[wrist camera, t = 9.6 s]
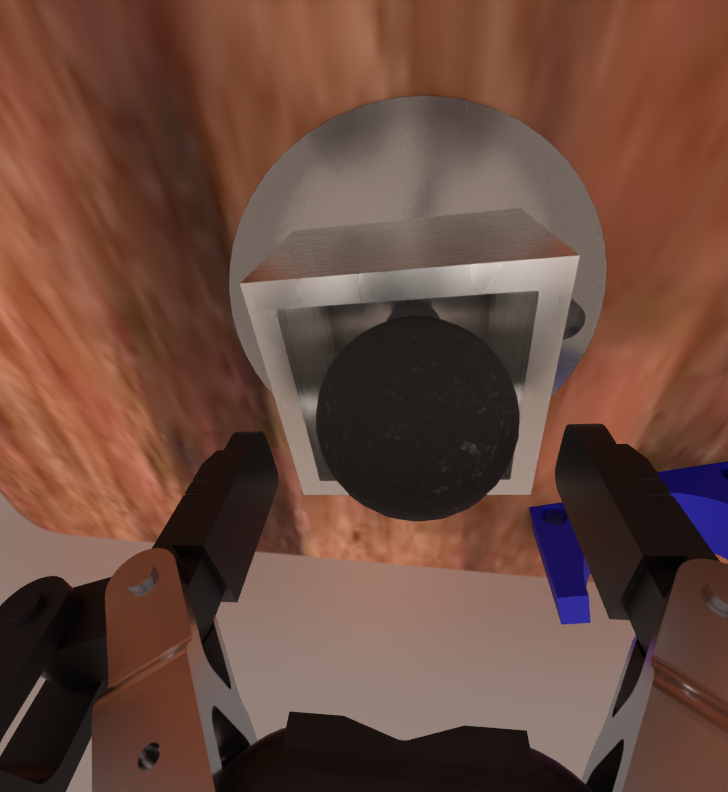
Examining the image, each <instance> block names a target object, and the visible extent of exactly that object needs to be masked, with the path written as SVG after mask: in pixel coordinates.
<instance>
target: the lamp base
mask: <svg viewBox="0 0 728 792" xmlns="http://www.w3.org/2000/svg"><path fill="white" fill-rule="evenodd" d="M605 288H606V253H605V245H604V236H603V232H602V229H601V225H600V222H599V218H598V215H597V211H596V208H595V206H594V204H593V202H592V200H591V198H590V196H589V194H588V191H587V189H586V187H585V185H584V183H583V182H582V180H581V179H580V178H579V176H578V175H577V173H576V172H575V171H574V169H573V168H572V166H571V165H570V163H569V162H568V161H567V159H566V158H565V157H564V156H563V155H562V154H561V153H560V152H559V151H558V150H557V149H556V148H555V147H554V146H553V145H552V144H551V143H550V142H549V141H548V140H547V139H545V138H544V137H543V136H541V135H540V134H538V133H537V132H536V131H534V130H533V129H531V128H530V127H528V126H527V125H526V124H524V123H523V122H521V121H520V120H517V119H515V118H513V117H511V116H509V115H507V114H505V113H503V112H500V111H498V110H496V109H494V108H492V107H488V106H485V105H481V104H477V103H474V102H470V101H467V100H463V99H457V98H447V97H437V96H414V97H399V98H392V99H388V100H384V101H379V102H375V103H370V104H366V105H363V106H360V107H358V108H355V109H353V110H351V111H348V112H346V113H343V114H341V115H338V116H336V117H334V118H332V119H330V120H329V121H327V122H325V123H324V124H322V125H320V126H319V127H317V128H315V129H314V130H312V131H310V132H309V133H307V134H306V135H305V136H304V137H303V138H301V139H300V140H299V141H298V142H297V143H295V144H294V145H293V146H292V147H291V148H289V149H288V150H287V151H286V152H285V153H284V154H283V155H282V156H281V157H280V158H279V160H278V161H277V162H276V163H275V164H274V165H273V166H272V168H271V169H270V170H269V171H268V172H267V173H266V175H265V176H264V178H263V179H262V181H261V182H260V184H259V185H258V187H257V188H256V190H255V191H254V193H253V195H252V196H251V198H250V200H249V202H248V205H247V207H246V209H245V211H244V213H243V216H242V218H241V220H240V223H239V226H238V230H237V233H236V237H235V240H234V243H233V249H232V256H231V262H230V280H229V292H230V300H231V308H232V315H233V319H234V322H235V326H236V330H237V334H238V337H239V339H240V342H241V344H242V347H243V349H244V352H245V354H246V356H247V358H248V359H249V361H250V363H251V365H252V367H253V368H254V370H255V372H256V373H257V375H258V376H259V377H260V379H261V380H262V382H263V383H264V384H265V386H266V387H267V388H268V389H269V391H270V392H271V393H272V394H273V395H274V398H275V401H276V405H277V408H278V411H279V414H280V418H281V421H282V424H283V428H284V431H285V434H286V438H287V441H288V444H289V447H290V451H291V454H292V457H293V461H294V464H295V467H296V470H297V474H298V477H299V480H300V484H301V487H302V490H303V494H304V495H349V494H348V493H347V492H346V491H345V489H344V488H343V487H342V486H341V485H340V484H339V483H338V482H337V481H336V479H335V478H334V476H333V475H332V473H331V472H330V470H329V468H328V466H327V464H326V462H325V460H324V458H323V456H322V453H321V449H320V444H319V440H318V436H317V432H316V409H317V403H318V396H319V390H320V387H321V384H322V382H323V379H324V377H325V375H326V373H327V371H328V368H329V367H330V365H331V364H332V363H333V361H334V360H335V359H336V357H337V356H338V354H339V353H340V352H341V350H342V349H343V348H344V347H345V346H347V344H348V343H350V342H351V341H352V340H353V339H354V338H355V337H357V336H359V335H360V334H361V333H363V332H365V331H367V330H369V329H370V328H372V327H374V326H376V325H378V324H381V323H383V322H386V320H387V318H388V317H389V316H390V314H391V313H392V312H393V311H394V310H395V309H396V308H398V307H399V306H401V305H403V304H406V303H411V302H417V303H422V304H425V305H428V306H429V307H431V308H432V309H434V311H435V312H436V313H437V314H438V316H439V317H440V319H442V320H445V321H447V322H450V323H453V324H456V325H459V326H460V327H462V328H464V329H466V330H468V331H470V332H471V333H473V334H474V335H476V336H477V337H479V338H480V339H481V340H483V341H484V342H485V343H486V344H487V345H488V346H489V348H490V349H491V350H492V351H493V352H494V353H495V354H496V355H497V357H498V358H499V359H500V361H501V362H502V364H503V365H504V366H505V368H506V369H507V371H508V373H509V376H510V378H511V381H512V383H513V385H514V389H515V392H516V395H517V399H518V406H519V413H520V417H519V418H520V423H519V438H518V441H517V444H516V448H515V451H514V454H513V456H512V459H511V462H510V464H509V466H508V468H507V470H506V472H505V473H504V475H503V476H502V478H501V479H500V481H499V482H498V483H497V485H496V486H495V487H494V488H493V489H492V490H491V491H490V492H489V493H487V494H486V495H531V490H532V485H533V481H534V476H535V471H536V466H537V461H538V456H539V451H540V447H541V442H542V437H543V432H544V427H545V422H546V417H547V412H548V408H549V403H550V398H551V396H553V395H554V394H555V393H556V392H557V391H558V389H559V388H560V387H561V386H562V385H563V383H564V382H565V381H566V380H567V379H568V377H569V376H570V375H571V374H572V372H573V371H574V369H575V367H576V366H577V364H578V363H579V361H580V360H581V358H582V357H583V355H584V353H585V351H586V349H587V347H588V345H589V343H590V341H591V339H592V337H593V334H594V331H595V328H596V325H597V322H598V319H599V316H600V313H601V309H602V304H603V299H604V293H605Z"/></svg>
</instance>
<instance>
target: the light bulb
mask: <svg viewBox="0 0 728 792" xmlns="http://www.w3.org/2000/svg"><path fill="white" fill-rule="evenodd" d="M519 417H520V413H519V406H518V399H517V395H516V392H515V389H514V385H513V383H512V381H511V378H510V376H509V373H508V371H507V369H506V368H505V366H504V365H503V364H502V362H501V361H500V359H499V358H498V357H497V355H496V354H495V353H494V352H493V351H492V350H491V349H490V348H489V346H488V345H487V344H486V343H485V342H484V341H483V340H481V339H480V338H479V337H477V336H476V335H474V334H473V333H471V332H470V331H468V330H466V329H464V328H462V327H460V326H459V325H456V324H453V323H450V322H447V321H445V320H442V319H440V317H439V316H438V314H437V313H436V312H435V311H434V309H432V308H431V307H429V306H428V305H425V304H422V303H417V302H411V303H406V304H403V305H401V306H399V307H398V308H396V309H395V310H394V311H393V312H392V313H391V314H390V316H389V317H388V318H387V320H386V322H383V323H381V324H378V325H376V326H374V327H372V328H370V329H369V330H367V331H365V332H363V333H361V334H360V335H359V336H357V337H355V338H354V339H353V340H352V341H351V342H350V343H348V344H347V346H345V347H344V348H343V349H342V350H341V352H340V353H339V354H338V356H337V357H336V359H335V360H334V361H333V363H332V364H331V365H330V367H329V368H328V371H327V373H326V375H325V377H324V379H323V382H322V384H321V387H320V390H319V396H318V403H317V409H316V432H317V436H318V440H319V444H320V449H321V453H322V456H323V458H324V460H325V462H326V464H327V466H328V468H329V470H330V472H331V473H332V475H333V476H334V478H335V479H336V481H337V482H338V483H339V484H340V485H341V486H342V487H343V488H344V489H345V491H346V492H347V493H348V494H349V495H350V496H352V497H353V498H354V499H356V500H357V501H358V502H360V503H361V504H362V505H364V506H366V507H368V508H370V509H372V510H374V511H376V512H378V513H380V514H383V515H385V516H387V517H391V518H396V519H401V520H409V521H428V520H436V519H443V518H446V517H448V516H451V515H454V514H456V513H459V512H461V511H464V510H466V509H468V508H470V507H471V506H473V505H474V504H476V503H477V502H479V501H480V500H481V499H482V498H483V497H484V496H485V495H486V494H487V493H489V492H490V491H491V490H492V489H493V488H494V487H495V486H496V485H497V483H498V482H499V481H500V479H501V478H502V476H503V475H504V473H505V472H506V470H507V468H508V466H509V464H510V462H511V459H512V456H513V454H514V451H515V448H516V444H517V441H518V438H519V423H520V418H519Z"/></svg>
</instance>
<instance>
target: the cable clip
mask: <svg viewBox="0 0 728 792" xmlns="http://www.w3.org/2000/svg"><path fill="white" fill-rule="evenodd" d="M657 473H658V475H659V476H660V477H661V478H660V480H661V481H663V482H664V483H665V485H666V486H667V487H668V489H669V490H670V492H671V496H672V497H675V499H676V500H677V502H678V503H679V504H680V506H681V507H682V509H683V510H684V512H685V513H686V514H687V516H688V517H689V519H690V520H691V522H692V523H693V524H694V526H695V527H696V529H697V530H698V531H699V533H700V534H701V536H702V537H703V539H704V540H705V541H706V543H707V544H708V546H709V547H710V549H711V550H712V551H713V553H715V554H717V555H720V556H722V557H724V558H726V559H728V462H721V463H715V464H708V465H702V466H695V467H689V468H682V469H675V470H669V471H662V472H657ZM529 509H530V514H531V520H532V525H533V531H534V535H535V539H536V542H537V545H538V549H539V552H540V555H541V559H542V562H543V565H544V568H545V572H546V575H547V578H548V581H549V585H550V588H551V592H552V595H553V598H554V602H555V605H556V608H557V611H558V615H559V618H560V621H561V624H576V623H590V610H589V596H588V592H587V589H586V585H587V581H588V578H589V575H590V573H591V572H590V569H589V567H588V564H587V562H586V559H585V557H584V554H583V552H582V550H581V547H580V545H579V542H578V540H577V537H576V535H575V532H574V530H573V527H572V525H571V522H570V520H569V517H568V515H567V512H566V510H565V507H564V505H563V502H562V503H555V504H548V505H541V506H534V507H529Z"/></svg>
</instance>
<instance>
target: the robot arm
mask: <svg viewBox="0 0 728 792" xmlns="http://www.w3.org/2000/svg"><path fill="white" fill-rule="evenodd" d="M660 478H661V477H660V476H659V475H658V473H657V472H656V470H655V469H654V467H653V466H652V465H651V463H650V462H649V460H648V459H647V458H645V457H644V456H643V455H641V454H640V453H639V452H637V451H636V450H635V449H633V448H632V447H631V446H629V445H628V444H616V442H615V441H614V439H613V437H612V436H611V434H610V433H609V431H608V430H607V428H606V427H605V426H604V425H603V424H569V425H567V426H566V428H565V431H564V435H563V439H562V443H561V447H560V451H559V455H558V459H557V463H556V468H555V479H556V486H557V489H558V492H559V495H560V497H561V500H562V502H563V505H564V507H565V510H566V512H567V515H568V517H569V520H570V522H571V525H572V527H573V530H574V532H575V535H576V537H577V540H578V542H579V545H580V547H581V550H582V552H583V554H584V557H585V559H586V562H587V564H588V567H589V569H590V572H591V574H592V577H593V579H594V582H595V584H596V587H597V589H598V591H599V594H600V596H601V599H602V601H603V604H604V607H605V609H606V612H607V614H608V617H609V619H620V620H630V622H631V624H632V627H633V629H634V631H635V633H636V635H635V637H634V639H633V641H632V644H631V647H630V650H629V653H628V656H627V659H626V662H625V665H624V668H623V671H622V674H621V677H620V680H619V683H618V686H617V689H616V692H615V695H614V698H613V701H612V704H611V707H610V710H609V713H608V716H607V718H606V721H605V723H604V726H603V728H602V730H601V733H600V735H599V736H598V739H597V741H596V743H595V745H594V748H593V750H592V752H591V755H590V757H589V760H588V763H587V766H586V769H585V772H584V775H583V777H582V780H580V779H579V778H578V777H577V776H576V775H574V774H573V773H572V772H571V771H569V770H568V769H566V768H565V767H564V766H562V765H561V764H560V763H558V762H557V761H555V760H553V759H552V758H550V757H548V756H546V755H545V754H543V753H541V752H539V751H537V750H535V749H532V748H530V745H529V740H528V735H527V731H524V730H512V729H499V728H487V727H475V726H461V727H458V728H454V729H450V730H446V731H443V732H439V733H435V734H431V735H427V736H423V737H419V738H415V739H412V740H407V741H403V740H398V739H395V738H393V737H391V736H388V735H386V734H384V733H382V732H379V731H377V730H375V729H372V728H370V727H368V726H365V725H363V724H361V723H358V722H357V721H354V720H352V719H350V718H347V717H345V716H338V715H325V714H313V713H301V712H289V717H288V721H287V726H286V728H284V729H280V730H278V731H276V732H273V733H271V734H269V735H267V736H265V737H264V738H262V739H260V740H258V741H257V738H256V735H255V732H254V729H253V726H252V723H251V721H250V718H249V716H248V713H247V711H246V709H245V707H244V705H243V703H242V701H241V698H240V696H239V693H238V690H237V686H236V683H235V679H234V676H233V673H232V669H231V666H230V662H229V659H228V655H227V652H226V648H225V645H224V641H223V638H222V634H221V631H220V627H219V624H218V620H217V618H216V616H215V615H216V613H217V610H218V607H219V605H220V602H237V601H238V599H239V596H240V593H241V590H242V587H243V584H244V582H245V579H246V576H247V573H248V570H249V567H250V565H251V562H252V559H253V556H254V553H255V550H256V548H257V545H258V542H259V539H260V536H261V533H262V531H263V528H264V525H265V522H266V519H267V516H268V514H269V511H270V508H271V505H272V502H273V499H274V497H275V494H276V491H277V486H278V471H277V467H276V464H275V462H274V459H273V456H272V453H271V450H270V447H269V444H268V441H267V438H266V436H265V434H264V433H263V432H261V431H255V432H235V433H234V434H233V435H232V436H231V438H230V440H229V442H228V443H227V445H226V447H225V449H224V451H216V452H215V453H214V454H213V455H212V456H211V457H210V458H208V459H207V460H206V461H205V462H204V463H203V464H202V465H201V467H200V469H199V470H198V472H197V474H196V475H195V477H194V479H193V483H191V484H190V486H189V487H188V489H187V491H186V492H185V493H186V495H185V496H183V497H182V499H181V501H180V502H179V504H178V506H177V507H176V509H175V511H174V512H173V514H172V516H171V517H170V519H169V521H168V523H167V524H166V526H165V528H164V529H163V531H162V533H161V534H160V536H159V538H158V539H157V541H156V543H155V544H154V546H153V547H152V549H148V550H145V551H142V552H140V553H138V554H136V555H134V556H133V557H131V558H130V559H128V560H127V561H126V562H125V563H124V564H122V565H121V566H120V567H119V568H118V569H117V570H116V572H115V573H114V575H113V576H112V577H109V578H106V579H102V580H99V581H95V582H92V583H88V584H85V585H81V586H78V587H74V588H72V587H71V586H70V585H69V584H68V583H67V582H66V581H65V580H64V579H62V578H60V577H57V576H49V577H44V578H40V579H38V580H35V581H33V582H31V583H29V584H27V585H25V586H24V587H22V588H20V589H19V590H18V591H16V592H15V593H14V594H13V595H11V596H10V597H9V598H8V599H7V600H6V601H5V602H4V603H3V604H2V605H1V606H0V742H1V740H2V738H3V736H4V735H5V733H6V731H7V730H8V728H9V726H10V725H11V723H12V721H13V720H14V718H15V717H16V715H17V713H18V712H19V710H20V708H21V707H22V705H23V703H24V702H25V700H26V699H27V697H28V695H29V694H30V692H31V690H32V689H33V687H34V685H35V684H36V682H37V680H38V679H39V677H40V676H42V677H43V678H45V679H46V681H45V682H44V684H43V686H42V687H41V689H40V691H39V693H38V694H37V696H36V698H35V699H34V701H33V702H32V704H31V706H30V707H29V709H28V711H27V712H26V714H25V716H24V717H23V719H22V721H21V723H20V724H19V726H18V728H17V729H16V731H15V733H14V734H13V736H12V738H11V739H10V741H9V743H8V744H7V746H6V748H5V749H4V751H3V753H2V754H1V756H0V792H66V790H67V788H68V786H69V783H70V781H71V779H72V777H73V775H74V773H75V771H76V768H77V766H78V764H79V762H80V760H81V758H82V756H83V753H84V751H85V749H86V747H87V745H88V743H89V741H90V739H91V736H92V792H728V564H725V563H722V562H720V561H719V559H718V558H717V557H716V556H715V554H714V553H713V551H712V550H711V549H710V547H709V546H708V544H707V543H706V541H705V540H704V539H703V537H702V536H701V534H700V533H699V531H698V530H697V529H696V527H695V526H694V524H693V523H692V522H691V520H690V519H689V517H688V516H687V514H686V513H685V512H684V510H683V509H682V507H681V506H680V504H679V503H678V502H677V500H676V499H675V497H672V496H671V492H670V490H669V489H668V487H667V486H666V485H665V483H664V482H663V481H661V480H660Z"/></svg>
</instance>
